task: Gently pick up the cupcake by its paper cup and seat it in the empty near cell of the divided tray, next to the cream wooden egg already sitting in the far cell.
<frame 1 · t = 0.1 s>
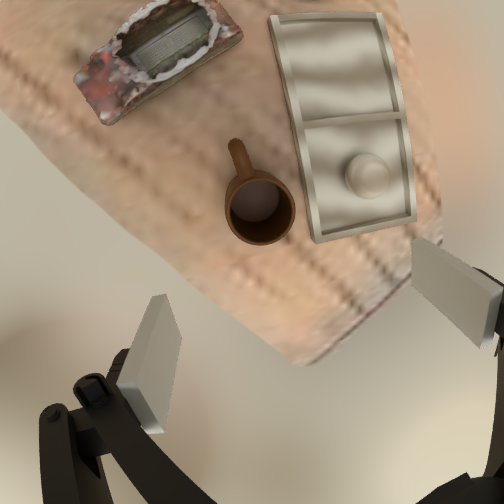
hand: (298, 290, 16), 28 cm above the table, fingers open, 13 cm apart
divided tray: (348, 120, 40), on the table
decorative box: (169, 72, 36), on the table
wooden egg: (358, 173, 41), point 1 cm above the table, touching divided tray
mug: (248, 181, 42), on the table
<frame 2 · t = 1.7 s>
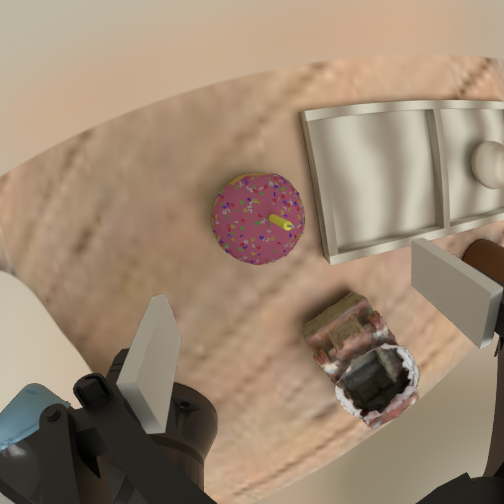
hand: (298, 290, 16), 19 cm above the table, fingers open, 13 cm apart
cupcake: (254, 208, 34), on the table
divided tray: (432, 167, 33), on the table
decorative box: (365, 342, 41), on the table
wooden egg: (477, 162, 32), point 1 cm above the table, touching divided tray
mug: (465, 267, 38), on the table
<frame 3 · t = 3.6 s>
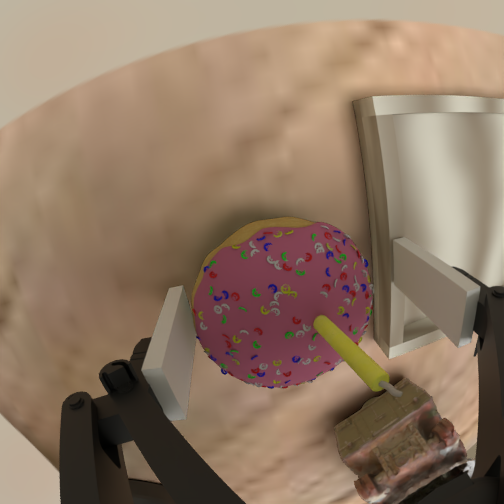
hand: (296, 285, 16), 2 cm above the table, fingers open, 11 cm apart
cupcake: (269, 272, 19), on the table
decorative box: (407, 426, 26), on the table
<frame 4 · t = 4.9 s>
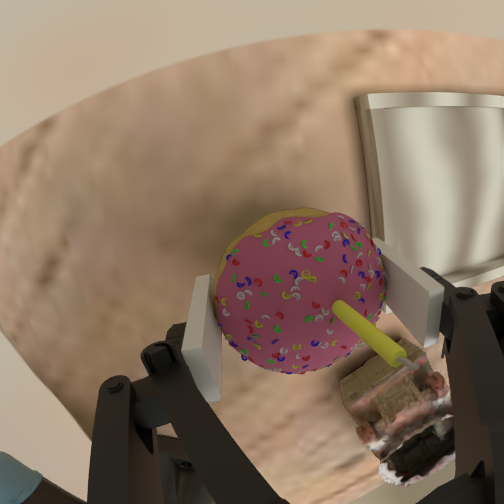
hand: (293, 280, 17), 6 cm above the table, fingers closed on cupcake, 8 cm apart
cupcake: (285, 263, 20), point 4 cm above the table, touching gripper
decorative box: (408, 390, 30), on the table
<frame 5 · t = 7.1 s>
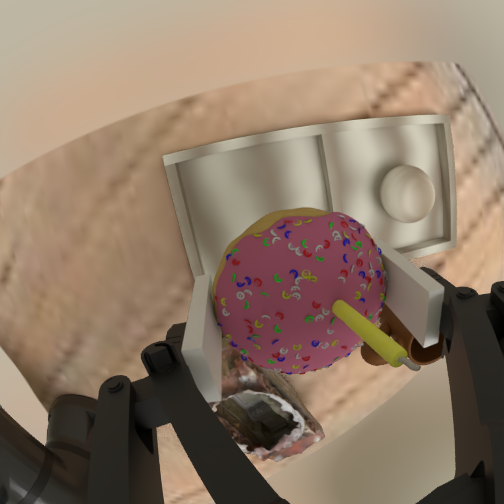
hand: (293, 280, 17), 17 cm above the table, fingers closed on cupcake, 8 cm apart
cupcake: (285, 262, 20), point 14 cm above the table, touching gripper
divided tray: (329, 199, 33), on the table
decorative box: (265, 375, 41), on the table
wooden egg: (393, 189, 33), point 1 cm above the table, touching divided tray
mug: (384, 305, 39), on the table
when the fingers open (4 cm above the table, at t = 9.3 s): cupcake stays where it is, resting on divided tray.
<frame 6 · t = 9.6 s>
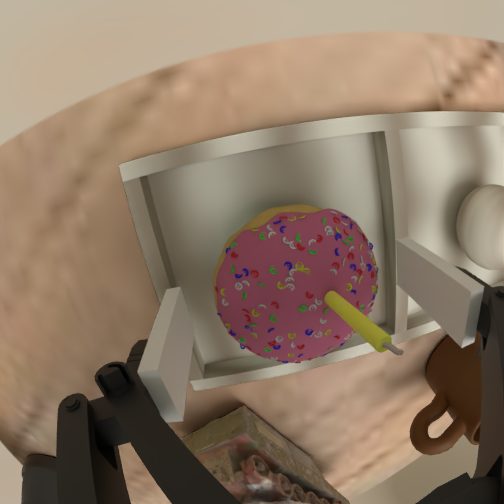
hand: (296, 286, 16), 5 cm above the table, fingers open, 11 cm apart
cupcake: (283, 257, 21), point 1 cm above the table, touching divided tray
divided tray: (385, 231, 21), on the table
decorative box: (280, 448, 29), on the table
wooden egg: (469, 216, 20), point 1 cm above the table, touching divided tray
mug: (435, 364, 26), on the table
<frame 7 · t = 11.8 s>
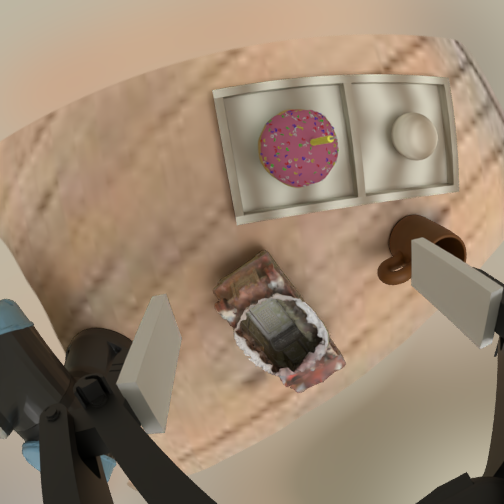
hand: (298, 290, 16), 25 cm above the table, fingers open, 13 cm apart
cupcake: (292, 146, 37), point 1 cm above the table, touching divided tray
divided tray: (349, 139, 37), on the table
decorative box: (288, 303, 45), on the table
wooden egg: (403, 135, 36), point 1 cm above the table, touching divided tray
mug: (396, 243, 42), on the table
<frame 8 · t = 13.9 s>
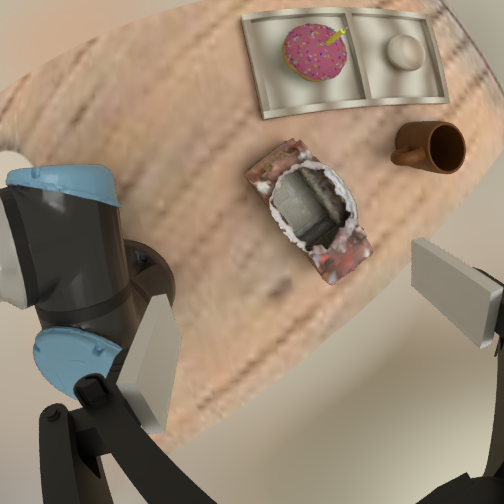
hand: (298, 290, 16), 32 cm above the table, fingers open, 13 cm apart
cupcake: (307, 60, 39), point 1 cm above the table, touching divided tray
divided tray: (353, 57, 40), on the table
decorative box: (311, 201, 47), on the table
wooden egg: (396, 56, 39), point 1 cm above the table, touching divided tray
mug: (402, 147, 45), on the table
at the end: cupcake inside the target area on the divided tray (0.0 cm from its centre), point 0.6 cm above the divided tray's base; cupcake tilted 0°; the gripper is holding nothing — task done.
